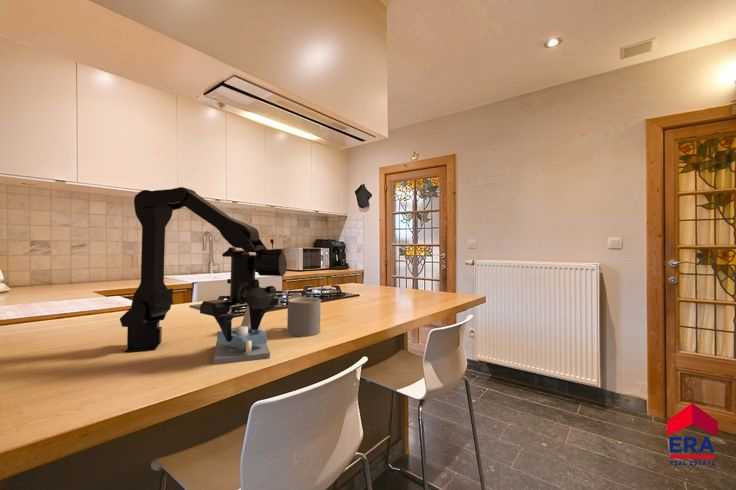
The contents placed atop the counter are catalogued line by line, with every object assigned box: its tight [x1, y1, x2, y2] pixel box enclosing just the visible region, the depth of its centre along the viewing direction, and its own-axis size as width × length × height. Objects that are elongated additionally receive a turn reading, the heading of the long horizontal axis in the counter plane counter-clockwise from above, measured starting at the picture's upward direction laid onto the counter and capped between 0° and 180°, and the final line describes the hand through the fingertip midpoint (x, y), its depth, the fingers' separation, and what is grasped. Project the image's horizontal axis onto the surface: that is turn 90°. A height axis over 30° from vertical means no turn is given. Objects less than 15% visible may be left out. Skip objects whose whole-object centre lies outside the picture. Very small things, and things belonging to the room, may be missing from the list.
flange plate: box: [216, 326, 268, 349], centre depth 80 cm, size 10×7×3 cm
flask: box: [240, 306, 263, 331], centre depth 99 cm, size 7×7×10 cm
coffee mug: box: [286, 297, 322, 338], centre depth 101 cm, size 13×10×10 cm
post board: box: [213, 325, 271, 365], centre depth 80 cm, size 12×14×6 cm
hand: (241, 338), depth 80 cm, fingers closed on flange plate, 7 cm apart
